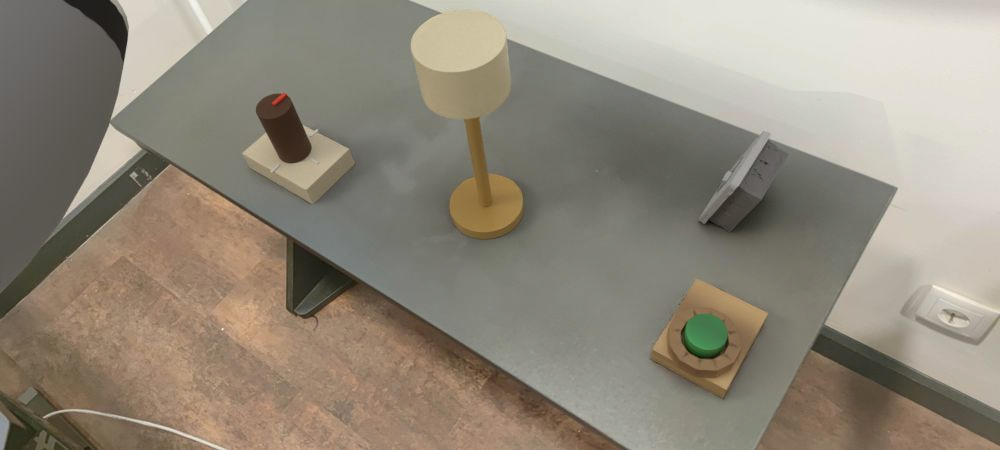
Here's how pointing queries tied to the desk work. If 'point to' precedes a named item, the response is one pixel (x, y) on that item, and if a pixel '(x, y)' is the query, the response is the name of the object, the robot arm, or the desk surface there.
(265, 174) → the dimmer panel
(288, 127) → the dimmer knob
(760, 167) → the electrical switch
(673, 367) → the power button base
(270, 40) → the desk surface
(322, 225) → the desk surface
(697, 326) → the power button
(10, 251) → the robot arm
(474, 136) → the desk lamp
